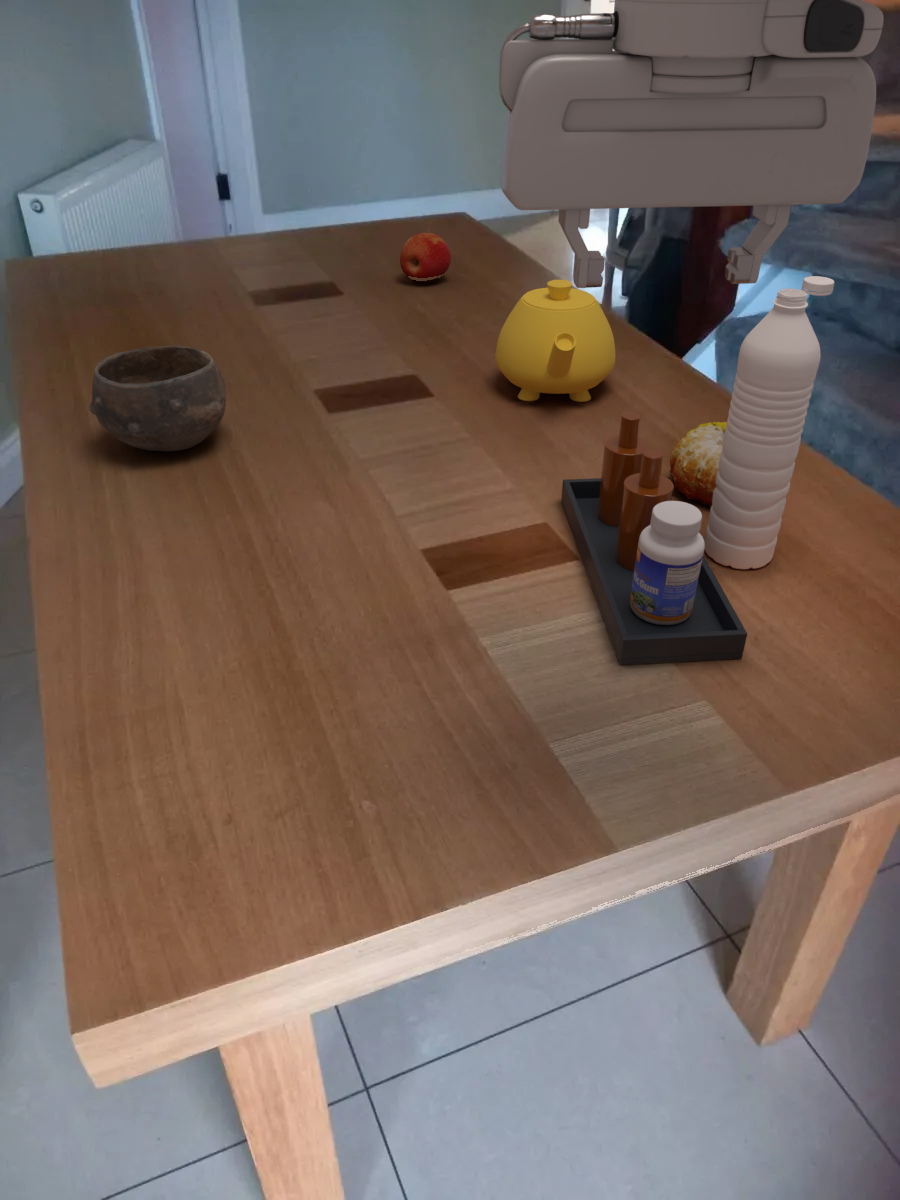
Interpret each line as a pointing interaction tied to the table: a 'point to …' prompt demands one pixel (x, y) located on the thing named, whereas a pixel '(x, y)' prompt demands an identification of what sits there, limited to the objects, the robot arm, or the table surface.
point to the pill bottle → (668, 564)
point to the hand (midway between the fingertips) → (664, 283)
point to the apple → (425, 256)
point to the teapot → (556, 343)
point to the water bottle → (764, 430)
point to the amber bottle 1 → (620, 466)
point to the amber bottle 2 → (640, 505)
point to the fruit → (698, 461)
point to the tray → (633, 639)
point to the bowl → (159, 397)
